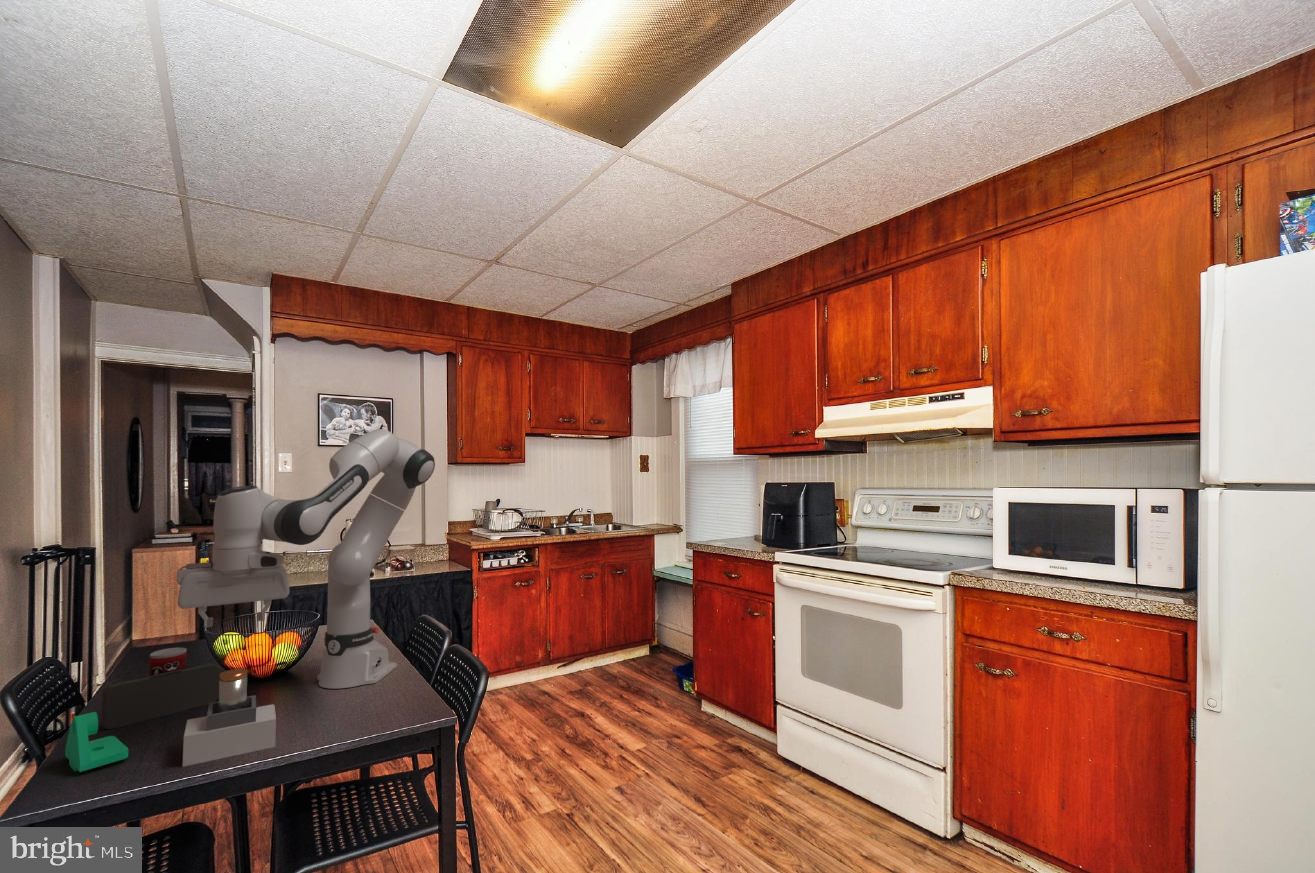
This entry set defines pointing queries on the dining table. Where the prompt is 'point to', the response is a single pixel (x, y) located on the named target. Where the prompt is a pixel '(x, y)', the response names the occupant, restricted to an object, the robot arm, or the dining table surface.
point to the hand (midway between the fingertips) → (235, 623)
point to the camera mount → (91, 745)
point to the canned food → (167, 660)
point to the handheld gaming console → (159, 695)
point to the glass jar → (232, 690)
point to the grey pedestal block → (229, 732)
